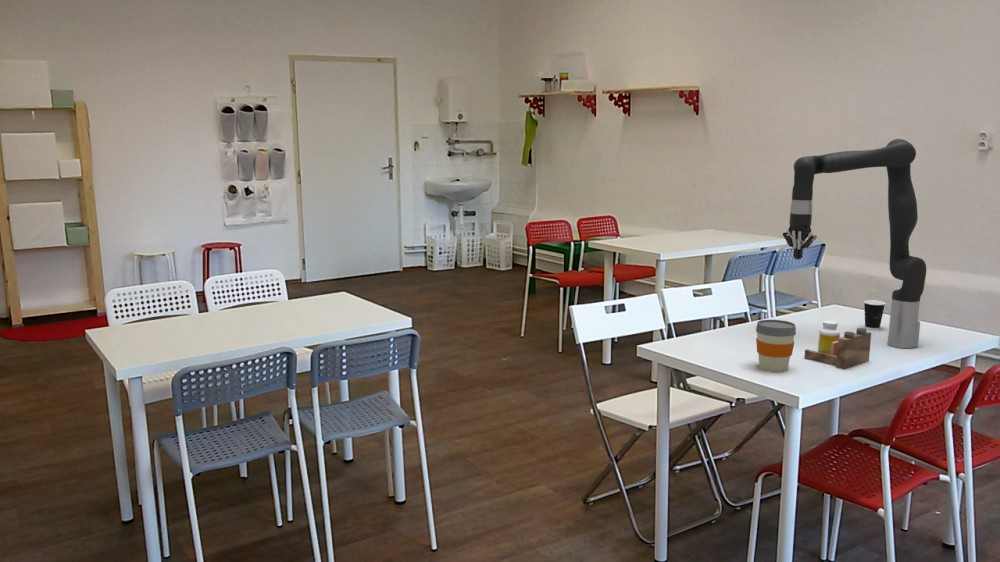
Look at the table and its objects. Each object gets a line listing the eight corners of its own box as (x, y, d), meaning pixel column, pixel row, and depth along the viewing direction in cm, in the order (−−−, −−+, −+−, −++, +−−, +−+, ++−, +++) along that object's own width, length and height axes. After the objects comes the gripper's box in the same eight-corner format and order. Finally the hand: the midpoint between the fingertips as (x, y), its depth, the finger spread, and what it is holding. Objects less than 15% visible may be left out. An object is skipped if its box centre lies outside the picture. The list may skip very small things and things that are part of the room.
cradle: (801, 359, 279) (804, 326, 277) (826, 351, 289) (829, 319, 287) (844, 369, 267) (847, 335, 265) (868, 361, 277) (871, 328, 275)
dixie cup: (865, 325, 328) (867, 299, 326) (886, 329, 322) (888, 302, 320) (858, 329, 322) (860, 302, 320) (879, 332, 317) (881, 305, 315)
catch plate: (829, 359, 275) (830, 342, 274) (843, 355, 281) (844, 338, 279) (832, 360, 274) (834, 343, 273) (846, 356, 280) (847, 339, 279)
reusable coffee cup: (759, 372, 263) (762, 328, 261) (749, 362, 276) (752, 319, 273) (798, 373, 263) (801, 328, 260) (786, 362, 275) (789, 319, 272)
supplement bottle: (839, 361, 277) (842, 324, 274) (819, 360, 278) (821, 323, 276) (835, 356, 283) (838, 320, 281) (815, 355, 285) (818, 319, 282)
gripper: (779, 211, 298) (776, 257, 301) (812, 214, 288) (808, 262, 291) (790, 210, 303) (787, 256, 306) (823, 213, 293) (819, 260, 296)
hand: (797, 259), depth 299 cm, fingers closed
